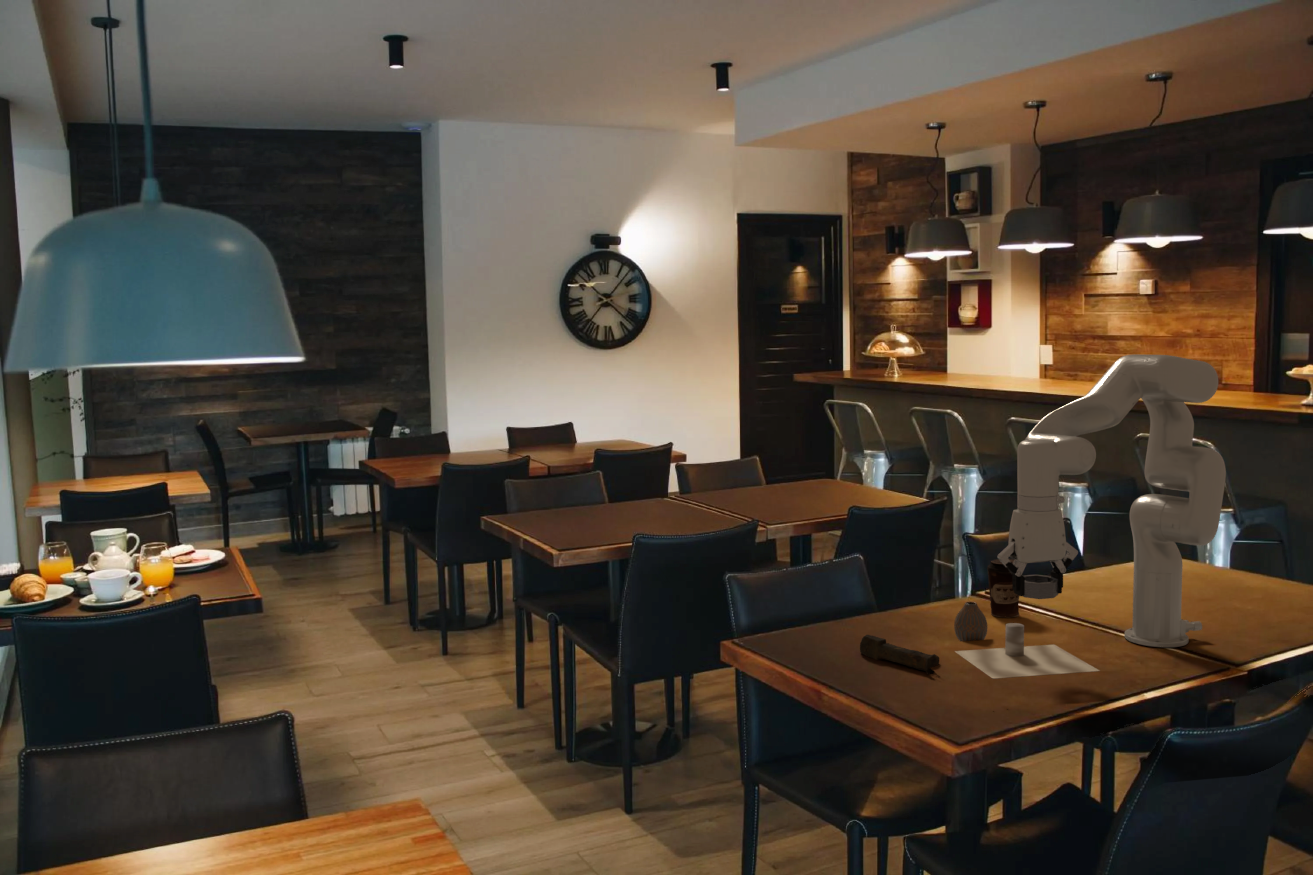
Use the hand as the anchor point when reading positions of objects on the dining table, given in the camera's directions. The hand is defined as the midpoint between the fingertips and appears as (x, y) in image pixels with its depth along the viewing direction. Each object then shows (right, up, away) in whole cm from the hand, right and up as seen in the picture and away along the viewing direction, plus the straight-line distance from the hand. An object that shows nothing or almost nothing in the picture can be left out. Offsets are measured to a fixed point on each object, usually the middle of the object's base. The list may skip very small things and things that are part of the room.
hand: (1037, 592), depth 216 cm
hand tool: (-26, -16, +11) cm, 32 cm away
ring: (0, 0, 0) cm, 0 cm away
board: (-1, -16, +6) cm, 17 cm away
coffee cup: (+8, -12, +45) cm, 47 cm away
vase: (-6, -14, +24) cm, 29 cm away
